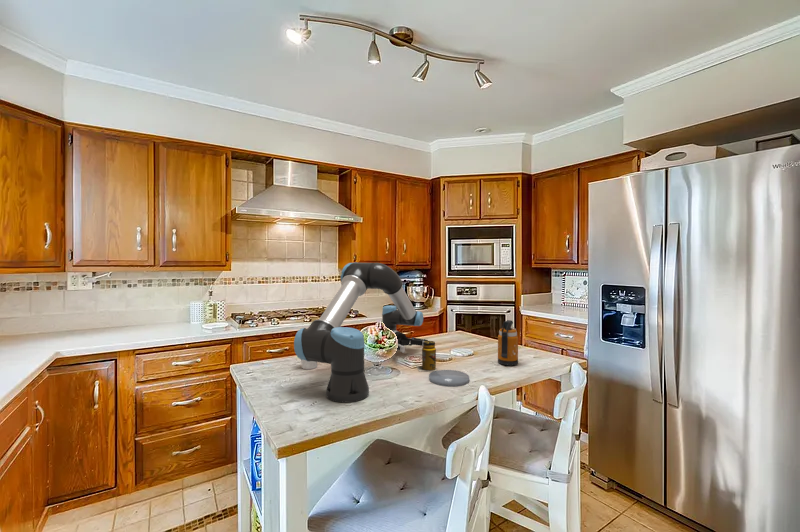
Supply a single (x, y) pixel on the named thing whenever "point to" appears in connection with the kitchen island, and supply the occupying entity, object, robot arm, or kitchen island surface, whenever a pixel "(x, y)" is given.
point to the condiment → (428, 357)
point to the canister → (508, 344)
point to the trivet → (449, 378)
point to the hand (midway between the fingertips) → (417, 348)
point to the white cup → (308, 364)
